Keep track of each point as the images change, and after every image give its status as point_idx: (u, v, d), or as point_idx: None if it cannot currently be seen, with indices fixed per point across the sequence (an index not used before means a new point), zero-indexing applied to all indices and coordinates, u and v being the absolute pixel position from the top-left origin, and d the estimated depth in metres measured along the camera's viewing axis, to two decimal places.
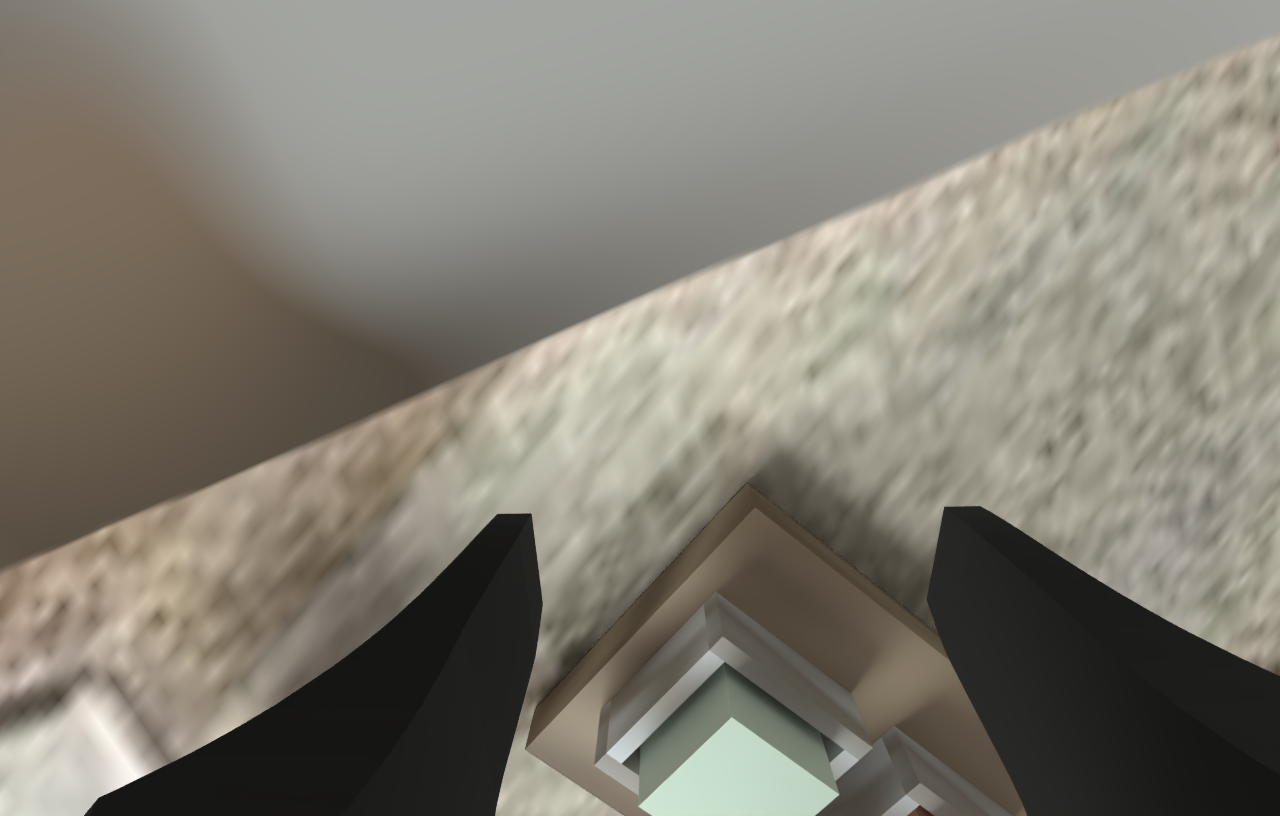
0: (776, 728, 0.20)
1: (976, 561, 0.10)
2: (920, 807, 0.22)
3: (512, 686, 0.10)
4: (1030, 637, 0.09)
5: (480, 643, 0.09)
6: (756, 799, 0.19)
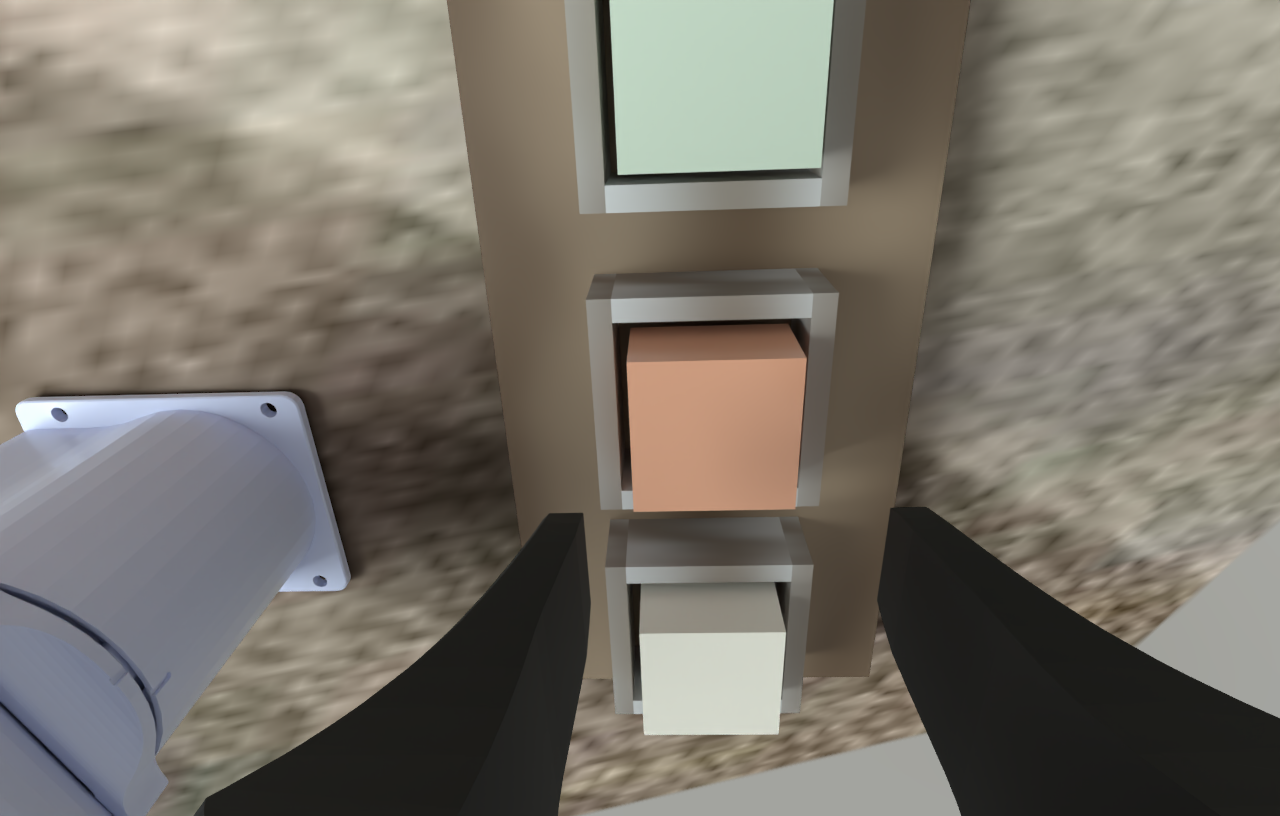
0: None
1: (916, 562, 0.10)
2: None
3: (571, 685, 0.10)
4: (962, 637, 0.09)
5: (547, 642, 0.09)
6: (740, 79, 0.13)
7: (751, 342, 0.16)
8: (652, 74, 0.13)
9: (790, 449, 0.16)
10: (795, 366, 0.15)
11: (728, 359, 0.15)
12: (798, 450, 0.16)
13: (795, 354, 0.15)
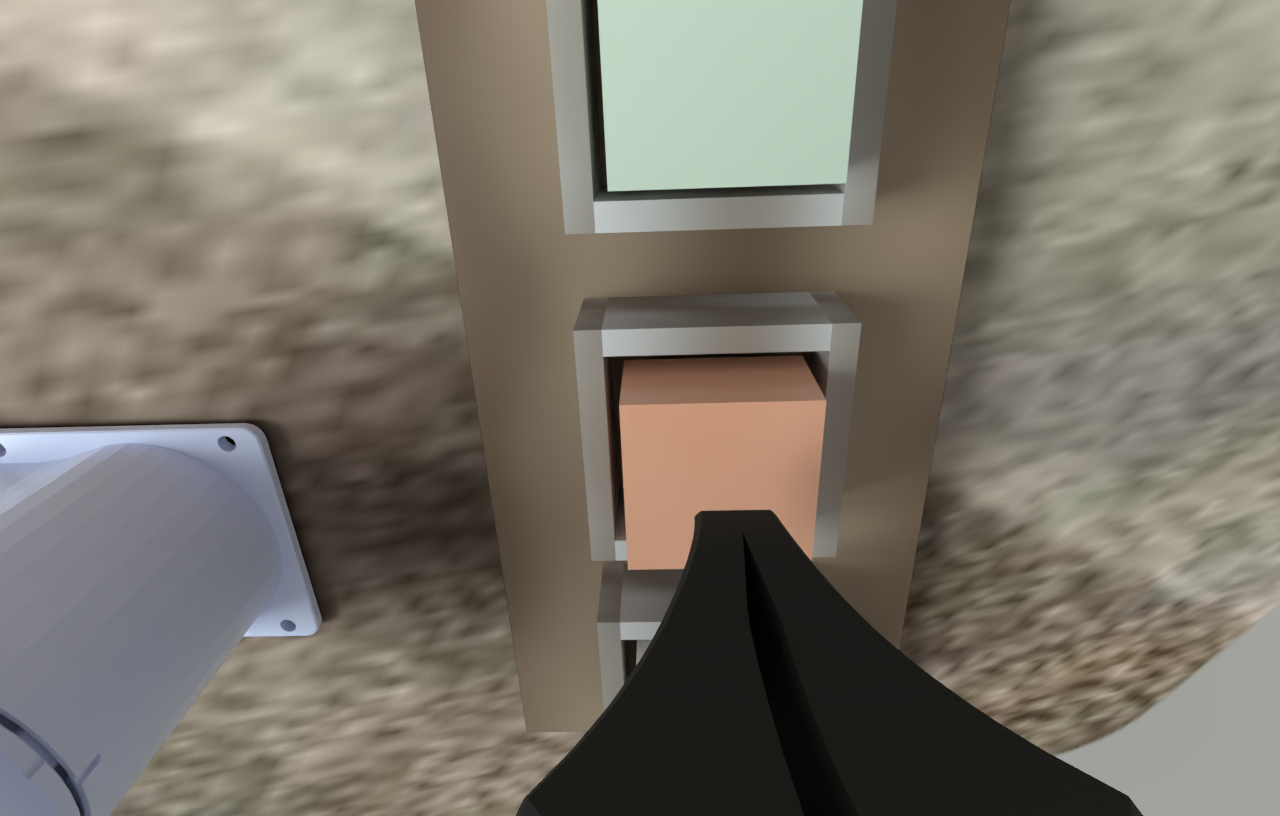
0: None
1: (745, 564, 0.10)
2: None
3: None
4: (767, 639, 0.09)
5: None
6: (751, 79, 0.11)
7: (761, 379, 0.14)
8: (648, 73, 0.11)
9: (806, 501, 0.14)
10: (813, 409, 0.13)
11: (736, 401, 0.13)
12: (815, 502, 0.14)
13: (813, 395, 0.13)
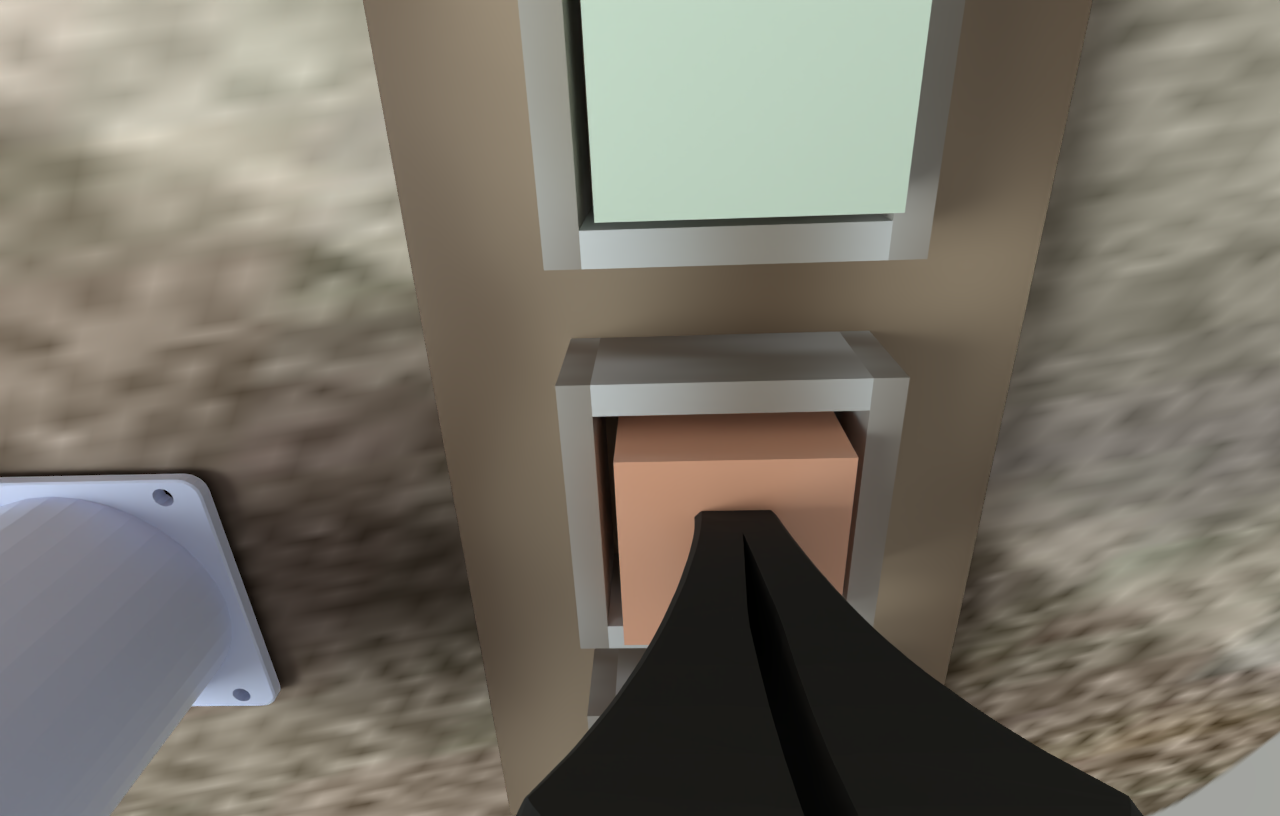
0: None
1: (745, 564, 0.10)
2: None
3: None
4: (767, 639, 0.09)
5: None
6: (783, 77, 0.08)
7: (780, 428, 0.12)
8: (647, 69, 0.08)
9: (832, 571, 0.12)
10: (842, 468, 0.11)
11: (752, 459, 0.11)
12: (843, 572, 0.12)
13: (842, 450, 0.11)
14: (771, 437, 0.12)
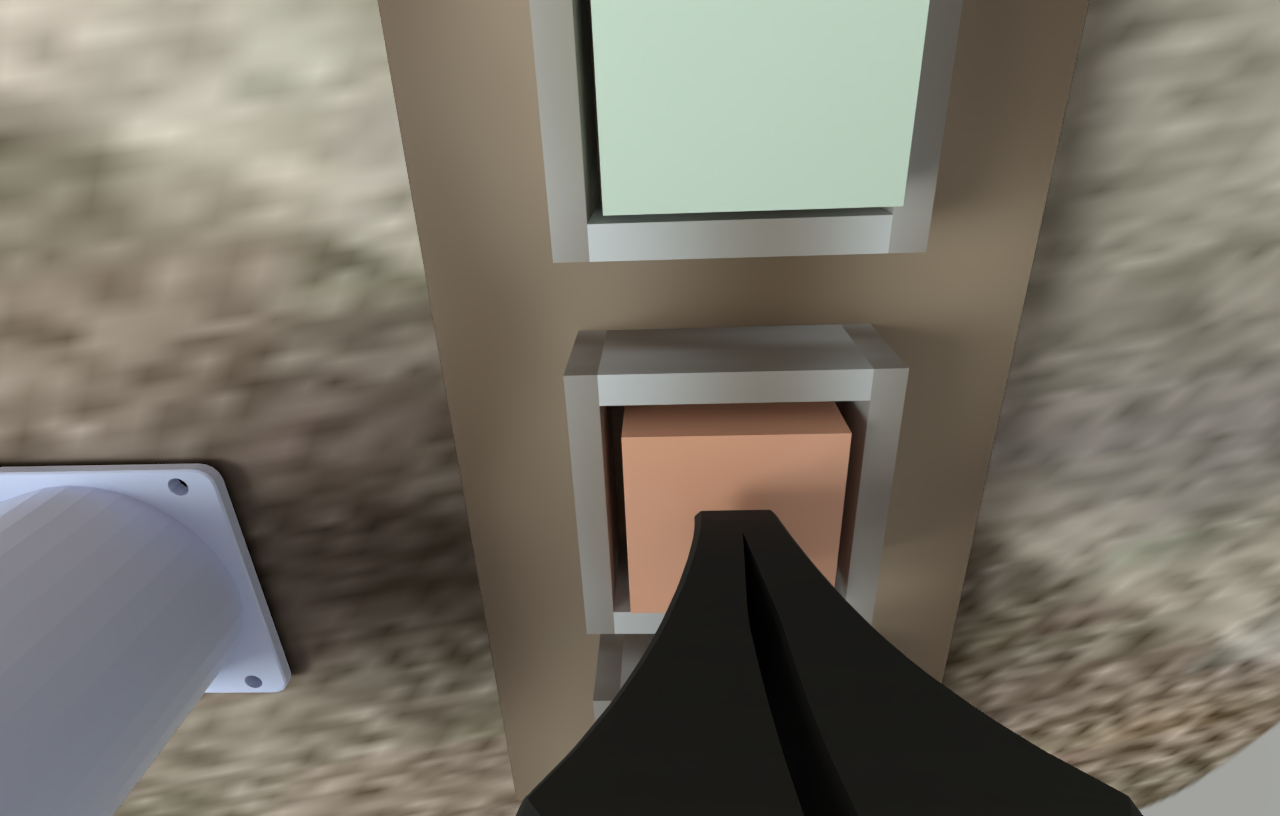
0: None
1: (745, 564, 0.10)
2: None
3: None
4: (767, 639, 0.09)
5: None
6: (786, 76, 0.08)
7: (778, 407, 0.13)
8: (654, 67, 0.08)
9: (827, 542, 0.13)
10: (837, 443, 0.12)
11: (751, 434, 0.12)
12: (837, 543, 0.13)
13: (836, 427, 0.12)
14: (770, 415, 0.12)
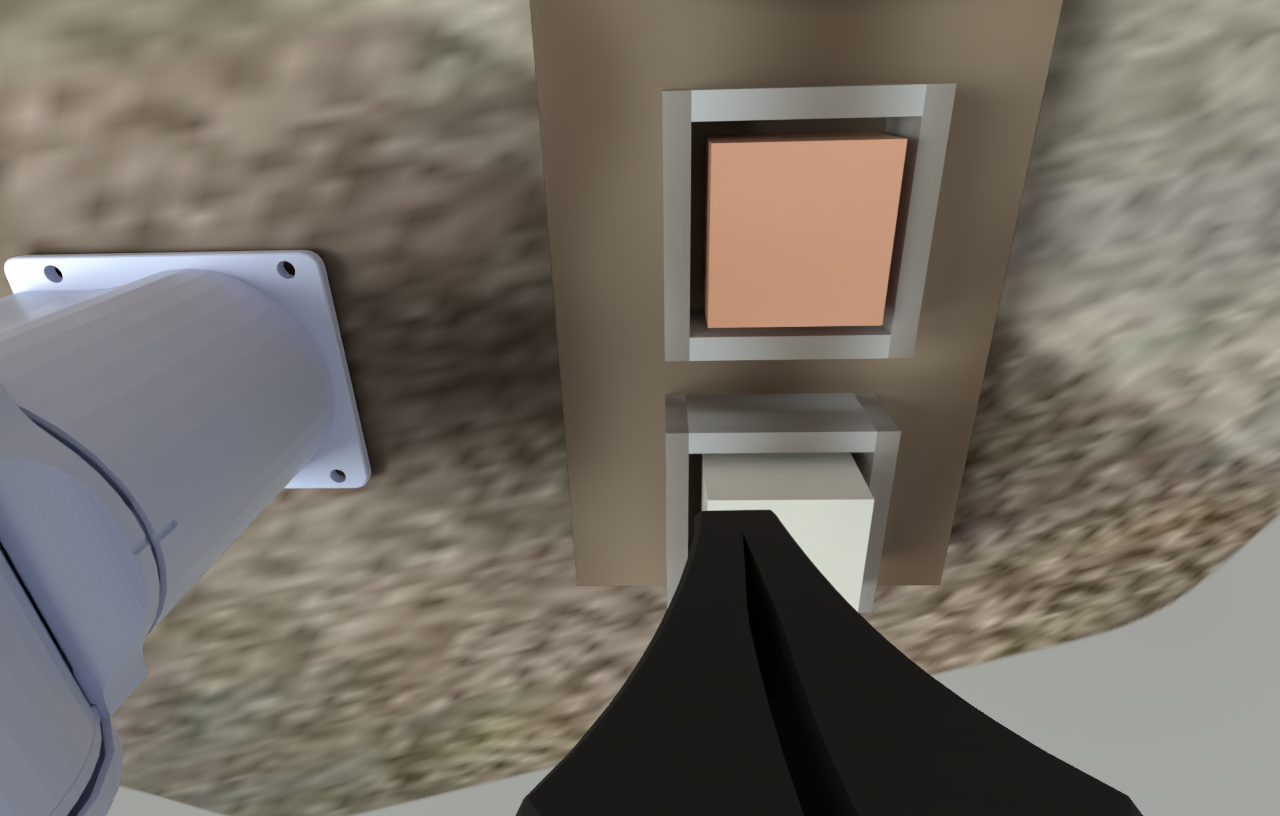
0: None
1: (745, 564, 0.10)
2: None
3: None
4: (767, 639, 0.09)
5: None
6: None
7: (841, 136, 0.15)
8: None
9: (882, 251, 0.15)
10: (894, 149, 0.14)
11: (822, 140, 0.14)
12: (890, 253, 0.15)
13: (893, 138, 0.14)
14: (835, 137, 0.15)
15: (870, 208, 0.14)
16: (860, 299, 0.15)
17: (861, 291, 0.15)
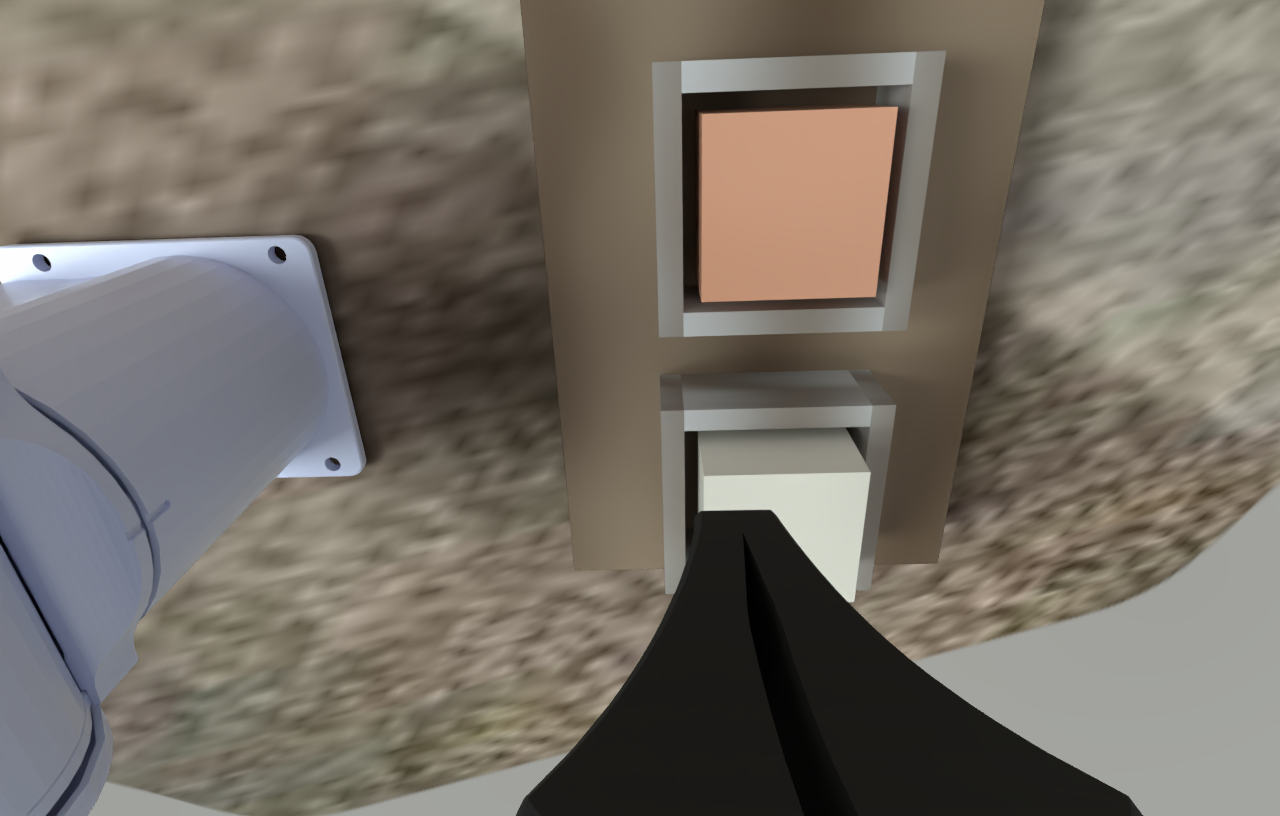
0: None
1: (745, 564, 0.10)
2: None
3: None
4: (767, 640, 0.09)
5: None
6: None
7: (831, 107, 0.15)
8: None
9: (874, 222, 0.15)
10: (885, 117, 0.14)
11: (813, 110, 0.14)
12: (883, 223, 0.15)
13: (884, 106, 0.14)
14: (825, 107, 0.15)
15: (862, 178, 0.14)
16: (853, 270, 0.15)
17: (854, 262, 0.15)
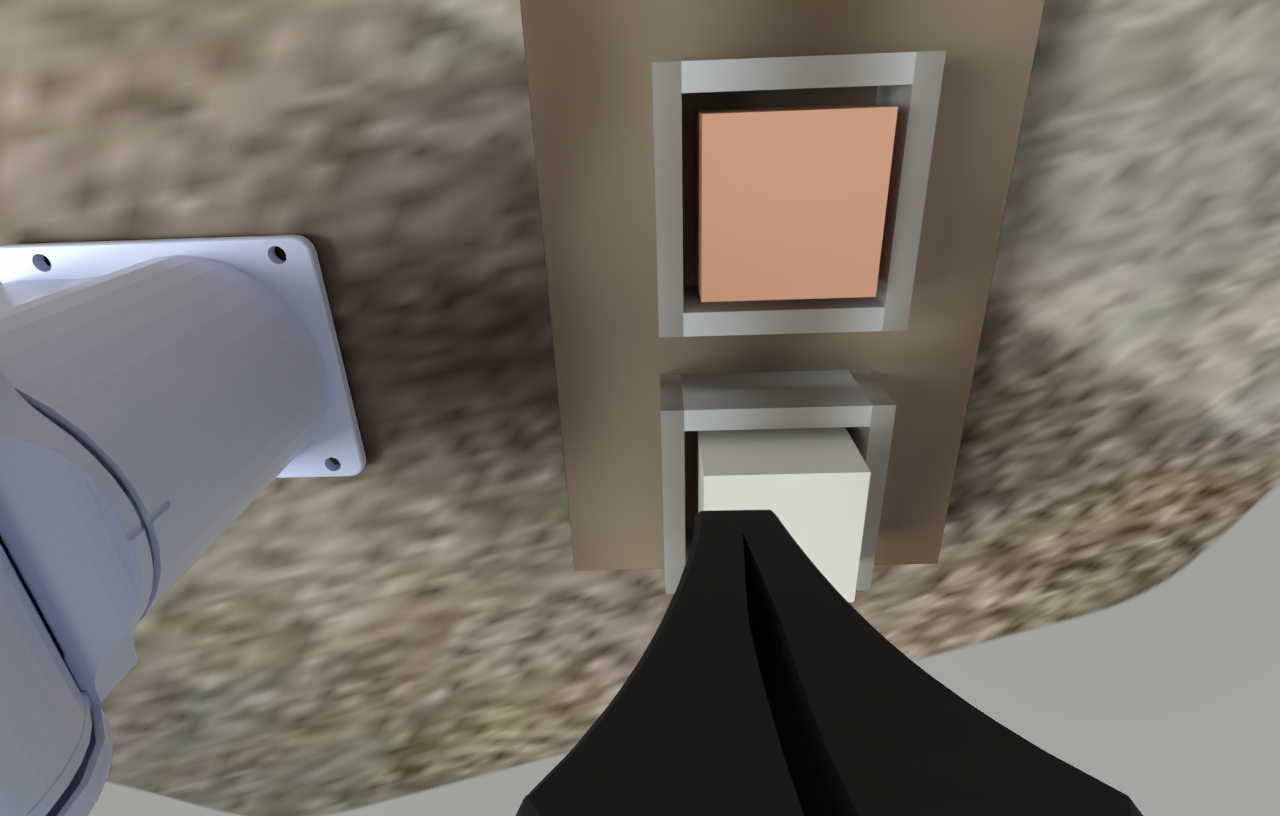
0: None
1: (745, 564, 0.10)
2: None
3: None
4: (767, 640, 0.09)
5: None
6: None
7: (831, 107, 0.15)
8: None
9: (874, 222, 0.15)
10: (885, 117, 0.14)
11: (813, 110, 0.14)
12: (883, 223, 0.15)
13: (884, 106, 0.14)
14: (825, 107, 0.15)
15: (862, 178, 0.14)
16: (853, 270, 0.15)
17: (854, 262, 0.15)
